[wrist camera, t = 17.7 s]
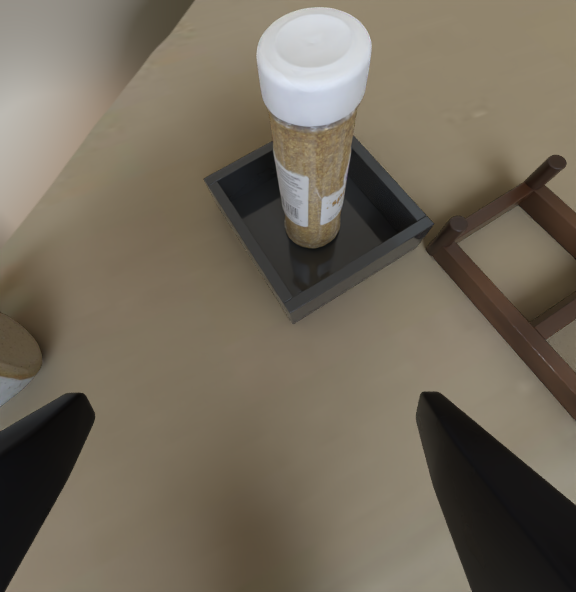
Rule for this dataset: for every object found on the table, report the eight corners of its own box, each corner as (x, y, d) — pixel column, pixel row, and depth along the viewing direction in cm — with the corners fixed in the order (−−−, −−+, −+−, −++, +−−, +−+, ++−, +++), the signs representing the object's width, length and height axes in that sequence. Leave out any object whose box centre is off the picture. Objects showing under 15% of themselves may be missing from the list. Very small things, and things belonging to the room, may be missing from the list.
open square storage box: (417, 247, 23) (434, 223, 20) (292, 324, 22) (289, 313, 19) (327, 143, 27) (329, 108, 24) (216, 205, 26) (203, 178, 23)
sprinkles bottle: (346, 242, 23) (391, 66, 11) (291, 256, 23) (267, 97, 11) (331, 195, 25) (353, -11, 12) (278, 208, 25) (244, 15, 12)
